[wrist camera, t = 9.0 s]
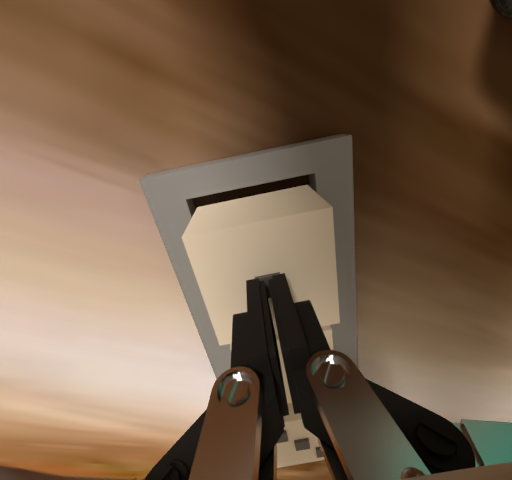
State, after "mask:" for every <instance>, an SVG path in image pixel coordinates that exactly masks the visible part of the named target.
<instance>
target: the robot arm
mask: <svg viewBox="0 0 512 480" xmlns="http://www.w3.org/2000/svg"><path fill="white" fill-rule="evenodd" d="M272 277H273V279H269V280H268V282H269V288H270V293H271V299H272V304H273V309H274V315H275V320H276V325H277V331H278V336H279V342H280V347H281V352H282V357H283V362H284V367H285V371H286V376H287V381H288V386H289V391H290V395H291V400H292V405H293V410H294V414H298V413H301V417H302V422H303V425H304V428H305V429H307V430H308V431H309V432H311V433H312V434H313V435H315V436H316V437H317V440H318V444H319V446H320V449H321V451H322V454H323V456H324V459H325V462H326V464H327V467H328V469H329V472H330V474H331V477H332V480H512V423H507V422H493V421H478V420H463V419H462V420H461V423H451V422H450V421H448V420H446V419H445V418H443V417H442V416H440V415H438V414H436V413H434V412H432V411H430V410H428V409H426V408H424V407H422V406H420V405H418V404H416V403H414V402H412V401H410V400H408V399H406V398H404V397H402V396H399V395H397V394H395V393H393V392H391V391H389V390H387V389H385V388H383V387H381V386H379V385H377V384H375V383H373V382H371V381H369V380H367V379H365V378H364V376H363V375H362V374H361V372H360V371H359V369H358V368H357V366H356V365H355V363H354V362H353V361H352V360H351V359H350V358H349V357H348V356H347V355H345V354H343V353H342V352H338V351H335V350H331V349H330V347H329V345H328V342H327V340H326V337H325V335H324V333H323V330H322V328H321V325H320V323H319V321H318V318H317V316H316V313H315V311H314V308H313V306H312V304H311V302H310V300H305V301H300V302H295V303H294V301H293V298H292V295H291V292H290V289H289V285H288V282H287V279H286V276H285V273H282V274H277V275H272ZM246 293H247V312H244V313H238V314H234V315H233V322H232V344H231V367H230V369H229V370H226V371H225V372H224V373H222V374H221V375H220V376H219V377H218V379H217V380H216V381H215V383H214V386H213V388H212V392H211V396H210V400H209V403H208V407H207V410H206V411H205V412H204V413H203V414H202V415H201V416H200V417H199V418H198V419H197V420H196V422H195V423H194V424H193V425H192V426H191V427H190V428H189V429H188V430H187V431H186V432H185V434H184V435H183V436H182V437H181V438H180V439H179V440H178V441H177V442H176V443H175V444H174V445H173V447H172V448H171V449H170V450H169V451H168V452H167V453H166V454H165V455H164V456H163V457H162V459H161V460H160V461H159V462H158V463H157V464H156V465H155V466H154V467H153V468H152V470H151V471H150V472H149V474H148V475H147V476H146V478H144V479H142V480H277V444H276V443H277V442H278V440H279V438H280V437H281V435H282V434H283V432H284V427H285V423H284V416H287V415H289V410H288V404H287V398H286V392H285V386H284V381H283V375H282V369H281V363H280V358H279V352H278V346H277V340H276V334H275V329H274V325H273V320H272V315H271V310H270V306H269V301H268V296H267V292H266V287H265V282H264V281H259V278H256V279H251V280H246ZM132 480H138V479H137V478H135V479H132Z"/></svg>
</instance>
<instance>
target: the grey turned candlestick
mask: <svg viewBox="0 0 512 480" xmlns="http://www.w3.org/2000/svg"><path fill="white" fill-rule="evenodd" d="M492 2H493V4H494V7H495V8H496V9H497V10H498V11H499V12H500V13H501V14H502V15H503V16H505V17H508V18H511V19H512V0H492Z"/></svg>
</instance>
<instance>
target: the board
mask: <svg viewBox="0 0 512 480" xmlns="http://www.w3.org/2000/svg"><path fill="white" fill-rule="evenodd" d="M308 174H309V182H310V187H311V188H312V189H313V190H314V191H315V192H316V193H317V194H318V195H320V196H321V197H322V198H323V199H324V200H325V201H326V202H328V203H329V204H330V205H331V206H332V207H333V221H334V237H335V253H336V269H337V284H338V300H339V316H340V323H338V324H332V325H330V327H331V329H332V338H333V350H335V351H338V352H342V353H343V354H345V355H347V356H348V357H349V358H350V359H351V360H352V361H353V362H354V363H355V365H356V366H357V368H358V347H357V308H356V269H355V229H354V190H353V151H352V135H350V134H338V135H333V136H328V137H323V138H318V139H314V140H309V141H304V142H299V143H295V144H290V145H285V146H280V147H276V148H271V149H266V150H261V151H256V152H252V153H247V154H242V155H237V156H233V157H228V158H223V159H218V160H214V161H209V162H204V163H199V164H194V165H190V166H185V167H180V168H175V169H171V170H166V171H161V172H156V173H152V174H148V175H146V176H144V177H142V178H140V179H139V181H140V184H141V186H142V189H143V192H144V194H145V197H146V199H147V202H148V204H149V207H150V209H151V212H152V215H153V217H154V220H155V222H156V225H157V227H158V230H159V233H160V235H161V238H162V240H163V243H164V245H165V248H166V250H167V253H168V256H169V258H170V261H171V263H172V266H173V268H174V271H175V273H176V276H177V279H178V281H179V284H180V286H181V289H182V291H183V294H184V296H185V299H186V302H187V304H188V307H189V309H190V312H191V314H192V317H193V320H194V322H195V325H196V327H197V330H198V332H199V335H200V337H201V340H202V343H203V345H204V348H205V350H206V353H207V355H208V358H209V360H210V363H211V366H212V368H213V371H214V373H215V376H216V378H217V379H218V377H219V376H220V375H221V374H222V373H224V372H225V371H226V370H229V369H230V367H231V349H230V344H226V345H221V346H220V345H219V342H218V339H217V337H216V334H215V331H214V328H213V325H212V322H211V320H210V317H209V314H208V311H207V308H206V305H205V303H204V300H203V297H202V294H201V291H200V288H199V285H198V283H197V280H196V277H195V274H194V271H193V268H192V266H191V263H190V260H189V257H188V254H187V251H186V249H185V246H184V243H183V240H182V236H183V234H184V232H185V230H186V228H187V226H188V224H189V222H190V220H191V218H192V216H193V214H194V213H195V211H196V208H195V204H194V201H193V198H196V197H201V196H206V195H210V194H215V193H220V192H225V191H230V190H235V189H240V188H244V187H249V186H254V185H259V184H264V183H269V182H274V181H278V180H283V179H288V178H293V177H298V176H303V175H308Z"/></svg>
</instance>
